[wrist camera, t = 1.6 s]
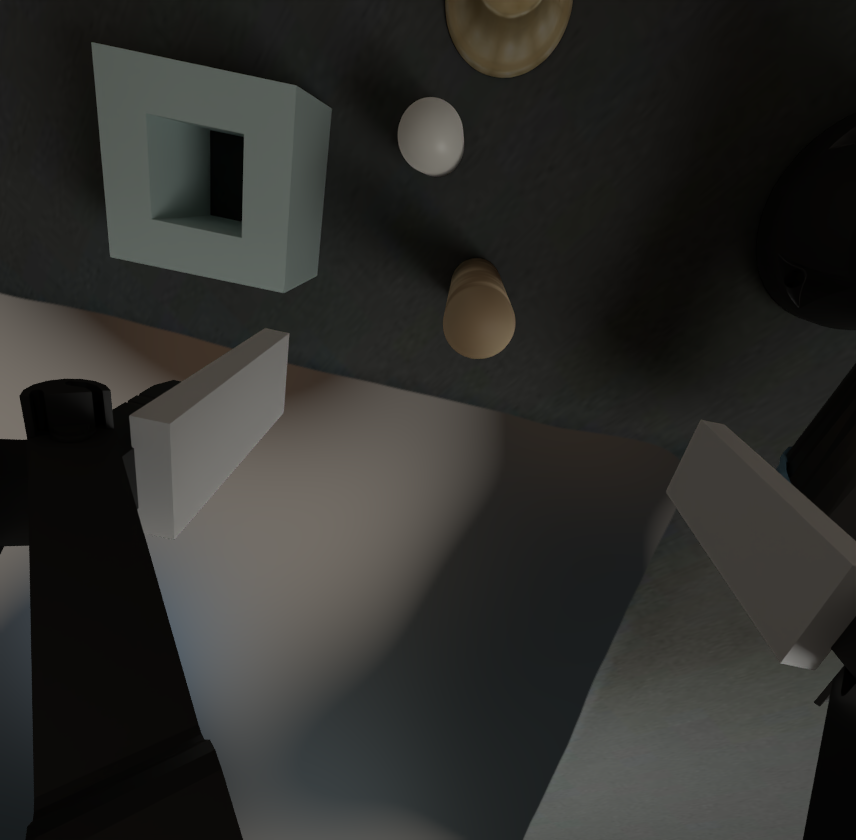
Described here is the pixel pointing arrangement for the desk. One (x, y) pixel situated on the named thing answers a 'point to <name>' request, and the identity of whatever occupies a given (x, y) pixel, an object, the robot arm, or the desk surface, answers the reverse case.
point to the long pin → (478, 311)
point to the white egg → (431, 137)
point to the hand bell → (506, 32)
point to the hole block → (190, 169)
